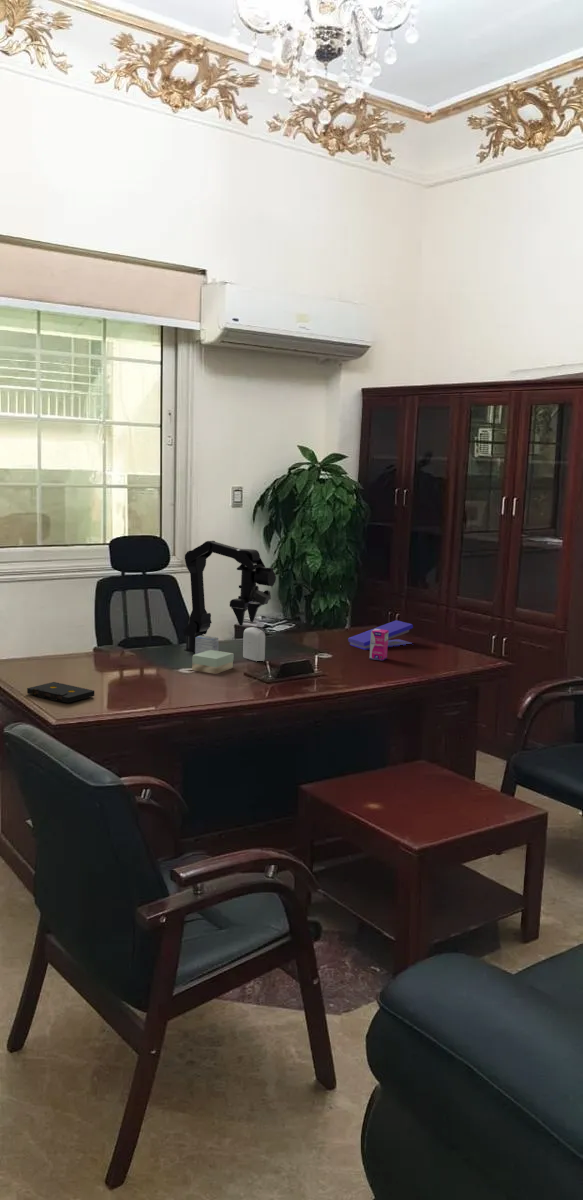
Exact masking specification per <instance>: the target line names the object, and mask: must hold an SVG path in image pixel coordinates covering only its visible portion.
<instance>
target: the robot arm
mask: <svg viewBox="0 0 583 1200" xmlns="http://www.w3.org/2000/svg"><path fill="white" fill-rule="evenodd" d="M213 553H214V554H217V555H220V556H223V557H227V558H231V559H233V560H234V561H236V562H237V563H238V564H240V565H239V566H238V567H237V568H236V570H237V571H241V574H240V575H241V576H240V578H241V579H240V584H239V585H238V589H240V595H239V596H237V597H238V598H233V599H231V600H230V601H229V607H230V608H231V610H233V611H232V612H233V613H234V615H235V618H236V620H237V623H238V624H239V625H238V626H243V625H244V620H245V615H246V612H248V613H247V614H248V616H249V618H248V619H249V622H250V623H253V622H255V618H256V615H257V612H258V610H259V608H261V607H262V606H265V605H268V603H269V601H270V600H271V599H272V596H271V591H270V590H268V589H266V590H262V591H261V590H259V589H260V588H259V585H260V586H266V587H273V586H274V585H275V583H276V580H277V576H276V572H275V571H274V567H266V565H265V564H264V562H263V559H262V558H261V554H260V552H259V551H258V550H257V549H253V548H251V549H250V548H239V547H235V546H231V545H227V544H224V543H220V542H217V541H215V540H207V541H206V540H205V542H203V543H202V544H201V545H199V546H197V547H195V548H193V549H192V550H188V551H187V552H186V553H185V554H184V563H185V567H186V569H187V570H188V571H189V575H190V589H191V590H190V591H191V606H192V607H191V608H192V611H191V613H190V615H189V618H188V619H189V620H188V624H187V626H186V627H185V628H184V629H183V632H182V633H183V635H184V636H185V637H186V638H185V639H186V640H185V641H186V642H185V643H186V645H185V648H184V649H183V651H186V652H187V651H188V652H193V653H194V652H195V637H197V636H201V635H202V636H205V635H206V634H207V633H208V630H209V629H210V627H211V624H212V618H211V616H212V614H211V613H210V612H209V613H208V612H207V610H206V603H205V601H206V600H205V587H204V571H205V568H206V565H207V559H208V558H209V557H211V556H212V554H213Z"/></svg>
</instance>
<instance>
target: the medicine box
mask: <svg viewBox="0 0 583 1200" xmlns="http://www.w3.org/2000/svg"><path fill="white" fill-rule="evenodd" d="M219 640H220V639H219V637H218V636H217V637H216V636H211V635H204V636H202V635H201V636H197V637H195V653H194V655H195V654H198V653H202V652H205V651H208V650H215V651H219Z"/></svg>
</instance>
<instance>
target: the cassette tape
mask: <svg viewBox="0 0 583 1200" xmlns="http://www.w3.org/2000/svg"><path fill="white" fill-rule="evenodd" d="M26 693H27V694H29V695H32V696H33V697H38V698H42V699H45V700H51V701H55V702H59V703H67V704H68V703H72V702H76V701H77V702H78V701H79V700H83V699H87V698H90V697H95V690H93V689H90V688H89V689H88V688H85V687H84V688H83V687H79V686H75V685H70V684H65V683H60V682H56V681H52V682H47V683H44V684H39V685H36V686H31V687H30V686H29V687H27V688H26Z"/></svg>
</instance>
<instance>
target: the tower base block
mask: <svg viewBox="0 0 583 1200" xmlns="http://www.w3.org/2000/svg"><path fill="white" fill-rule="evenodd" d="M233 662H234V661H233ZM233 662H230V663H227V664H224V665H221V666H218V667H212V666H206V665H199V664H193V663H192V667H191V671H195V672H201V673H209V674H214V675H215V674H220V673H222V672H225V671H228V670H231V669H233V666H234V665H233V664H234V663H233Z"/></svg>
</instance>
